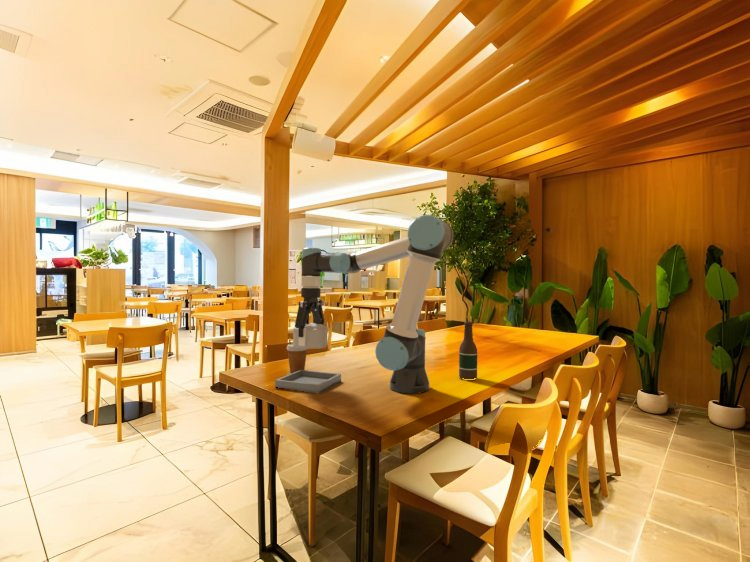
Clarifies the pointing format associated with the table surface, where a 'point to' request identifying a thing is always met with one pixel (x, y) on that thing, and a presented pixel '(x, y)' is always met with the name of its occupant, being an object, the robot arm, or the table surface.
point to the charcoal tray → (308, 381)
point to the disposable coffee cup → (296, 358)
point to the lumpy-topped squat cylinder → (312, 336)
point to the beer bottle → (468, 354)
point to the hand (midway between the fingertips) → (310, 343)
